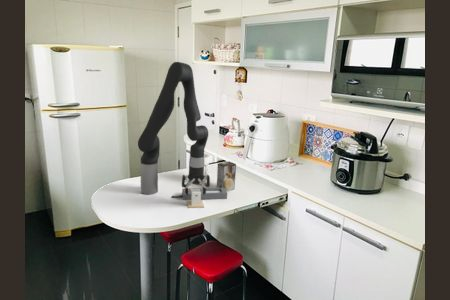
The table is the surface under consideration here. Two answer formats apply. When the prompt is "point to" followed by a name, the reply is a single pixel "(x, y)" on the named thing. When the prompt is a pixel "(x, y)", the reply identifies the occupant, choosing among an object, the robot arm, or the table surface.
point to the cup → (205, 167)
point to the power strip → (206, 194)
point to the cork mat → (195, 205)
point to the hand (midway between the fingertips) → (195, 194)
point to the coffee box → (226, 175)
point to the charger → (195, 197)
